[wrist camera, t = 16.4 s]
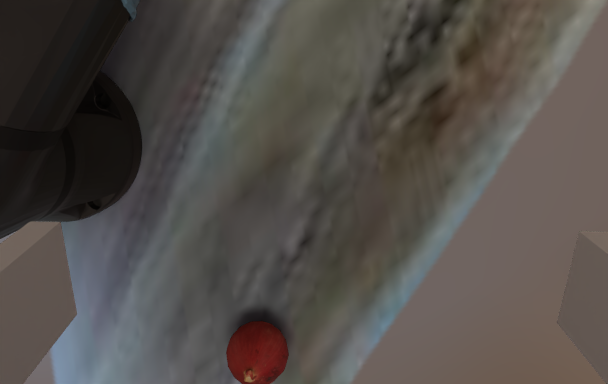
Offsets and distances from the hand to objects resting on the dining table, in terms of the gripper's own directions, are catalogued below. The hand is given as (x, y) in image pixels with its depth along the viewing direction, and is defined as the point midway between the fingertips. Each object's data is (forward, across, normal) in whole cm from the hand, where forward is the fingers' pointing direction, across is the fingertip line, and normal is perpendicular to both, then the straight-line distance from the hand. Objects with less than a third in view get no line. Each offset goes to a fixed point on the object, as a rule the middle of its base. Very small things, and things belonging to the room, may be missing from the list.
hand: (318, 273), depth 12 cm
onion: (+30, -4, -24) cm, 39 cm away
